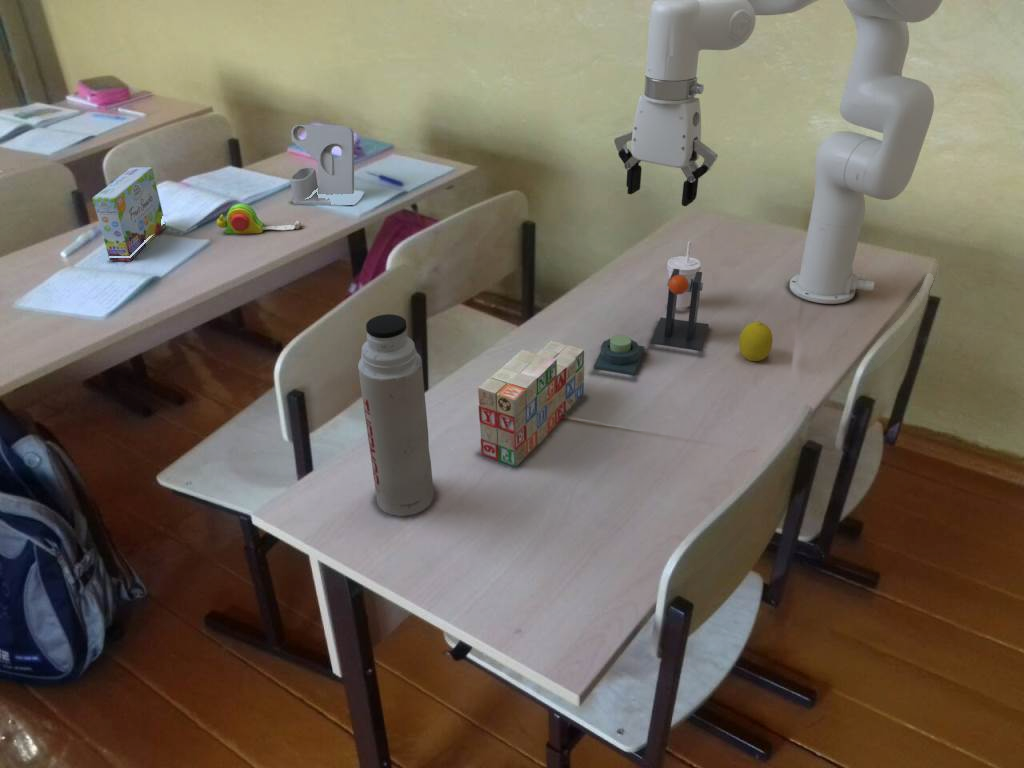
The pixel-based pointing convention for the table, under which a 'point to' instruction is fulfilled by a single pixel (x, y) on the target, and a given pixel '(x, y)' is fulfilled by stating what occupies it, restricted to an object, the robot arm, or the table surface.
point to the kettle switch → (680, 284)
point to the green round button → (620, 344)
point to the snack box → (129, 212)
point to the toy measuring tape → (247, 221)
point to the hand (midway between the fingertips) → (660, 197)
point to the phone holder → (324, 163)
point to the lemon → (755, 341)
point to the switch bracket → (682, 321)
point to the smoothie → (684, 274)
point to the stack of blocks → (528, 400)
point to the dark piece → (619, 359)
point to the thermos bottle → (396, 417)
